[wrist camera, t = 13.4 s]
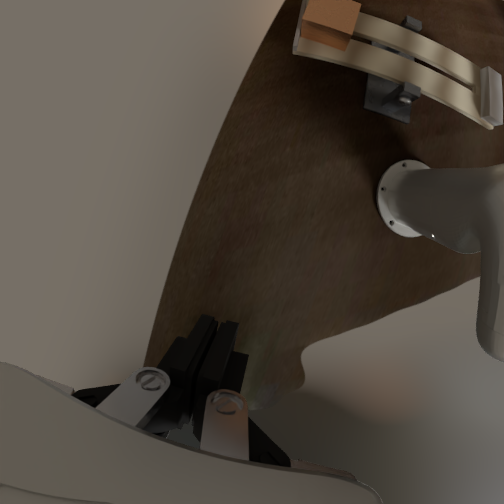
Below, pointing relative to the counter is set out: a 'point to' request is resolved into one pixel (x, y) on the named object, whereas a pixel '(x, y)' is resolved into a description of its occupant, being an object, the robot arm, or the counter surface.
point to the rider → (330, 22)
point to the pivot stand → (392, 86)
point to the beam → (414, 66)
